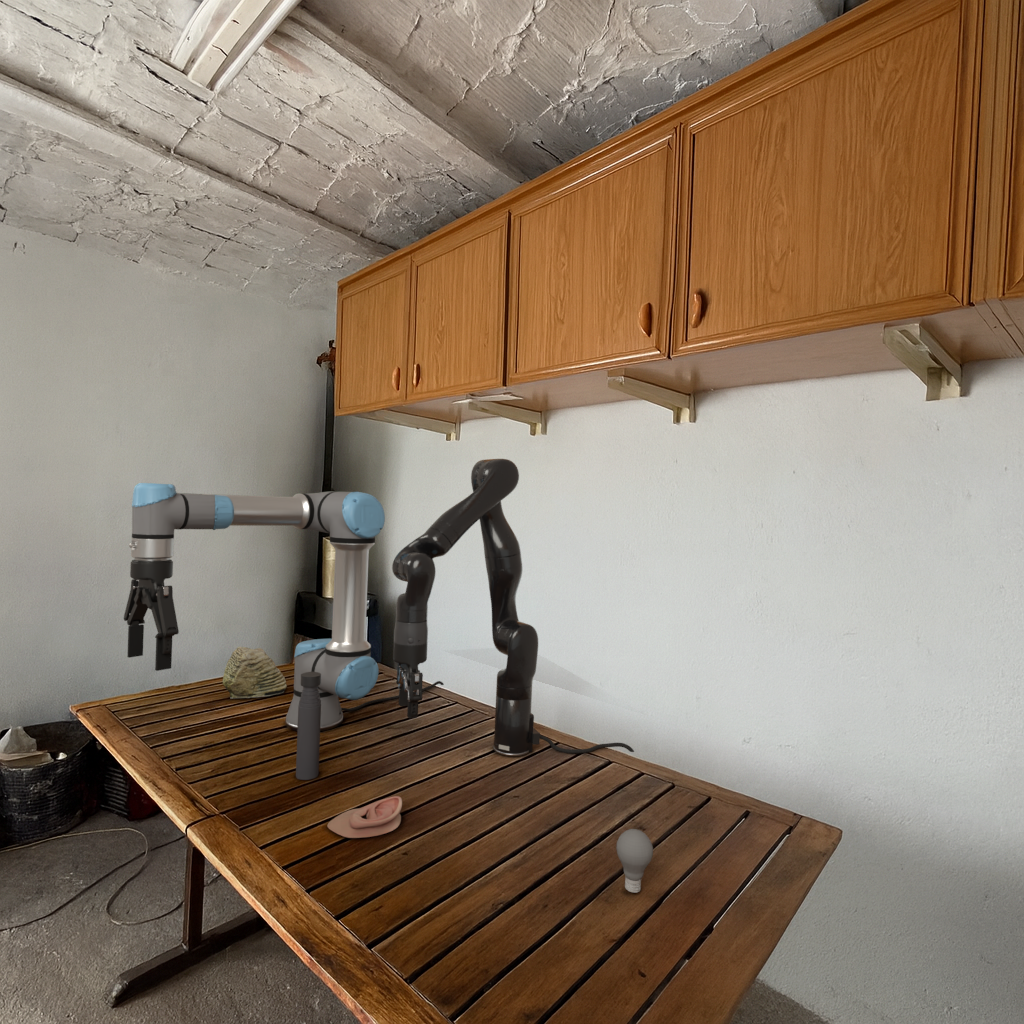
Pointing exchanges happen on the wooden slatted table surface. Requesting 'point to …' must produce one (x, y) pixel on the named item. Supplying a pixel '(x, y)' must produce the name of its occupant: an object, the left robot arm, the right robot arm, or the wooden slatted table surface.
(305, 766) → the bottle
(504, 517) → the right robot arm
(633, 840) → the light bulb
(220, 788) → the wooden slatted table surface
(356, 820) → the anatomical model
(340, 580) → the left robot arm
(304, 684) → the cap
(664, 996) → the wooden slatted table surface
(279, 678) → the fossil
